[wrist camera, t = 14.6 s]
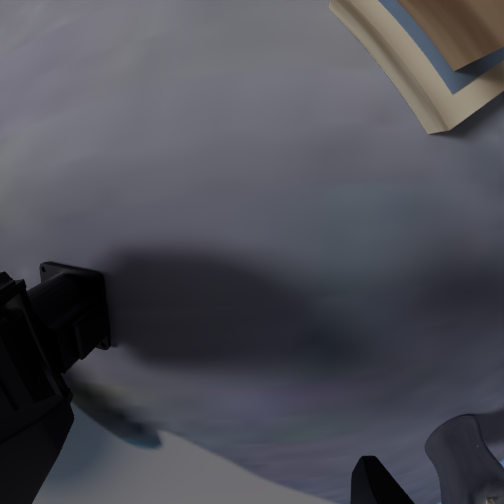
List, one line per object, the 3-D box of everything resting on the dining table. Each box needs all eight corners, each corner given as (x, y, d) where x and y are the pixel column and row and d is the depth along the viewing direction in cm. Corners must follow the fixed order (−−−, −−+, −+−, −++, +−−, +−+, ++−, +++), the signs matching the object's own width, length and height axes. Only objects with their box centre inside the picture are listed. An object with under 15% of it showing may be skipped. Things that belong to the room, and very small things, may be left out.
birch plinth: (427, 134, 16) (450, 130, 13) (328, 8, 15) (334, -15, 12) (511, 74, 14) (535, 67, 11) (427, -34, 12) (441, -54, 9)
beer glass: (467, 449, 23) (506, 552, 8) (412, 463, 23) (440, 581, 9) (490, 404, 21) (551, 515, 6) (431, 418, 22) (481, 554, 7)
